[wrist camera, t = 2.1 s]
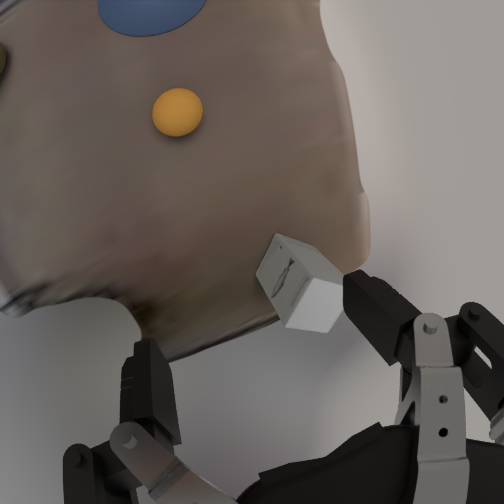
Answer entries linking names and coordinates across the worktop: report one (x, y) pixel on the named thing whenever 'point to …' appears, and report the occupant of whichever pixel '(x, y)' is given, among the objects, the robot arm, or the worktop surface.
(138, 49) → the worktop surface
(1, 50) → the squeeze bottle
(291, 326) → the supplement box
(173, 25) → the disc
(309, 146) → the worktop surface
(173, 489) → the robot arm
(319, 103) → the worktop surface
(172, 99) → the ball
